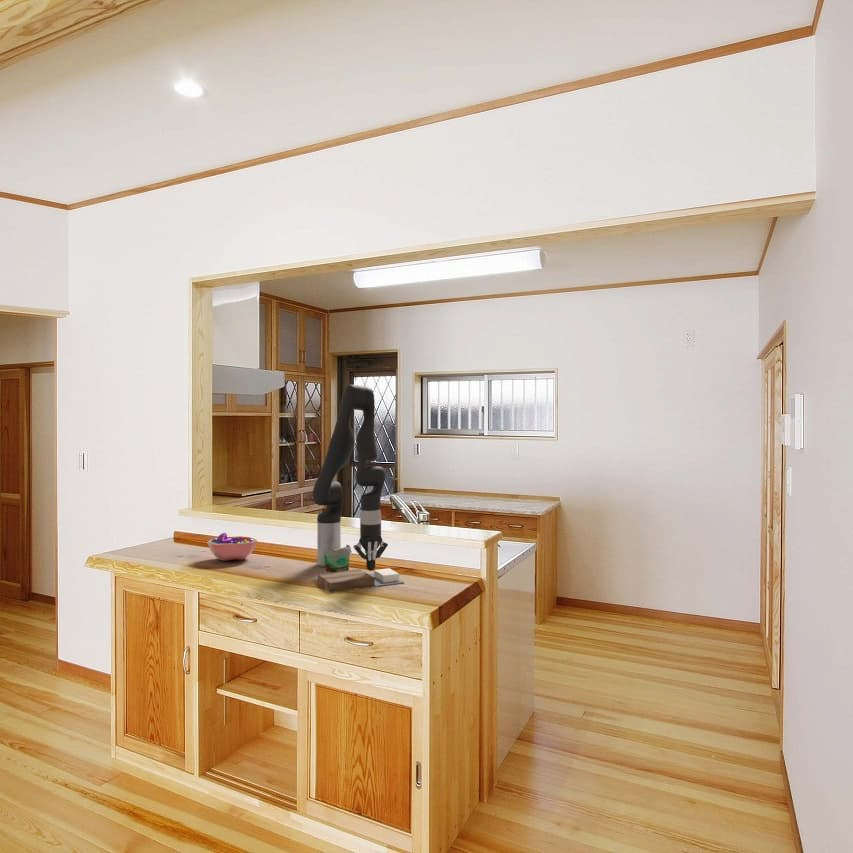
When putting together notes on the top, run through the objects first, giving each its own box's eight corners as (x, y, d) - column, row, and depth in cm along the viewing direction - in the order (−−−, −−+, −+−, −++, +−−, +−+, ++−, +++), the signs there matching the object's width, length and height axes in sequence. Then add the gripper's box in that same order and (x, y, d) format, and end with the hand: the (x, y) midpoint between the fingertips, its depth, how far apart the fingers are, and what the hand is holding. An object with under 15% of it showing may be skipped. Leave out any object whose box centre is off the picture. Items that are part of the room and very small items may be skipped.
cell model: (250, 565, 250) (250, 536, 250) (200, 564, 251) (200, 536, 250) (262, 555, 267) (262, 529, 267) (215, 555, 268) (215, 529, 267)
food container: (333, 579, 228) (333, 551, 228) (322, 576, 232) (322, 549, 232) (358, 572, 238) (358, 546, 238) (347, 570, 242) (347, 544, 242)
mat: (359, 576, 232) (359, 575, 232) (386, 573, 237) (386, 572, 237) (375, 587, 218) (375, 585, 218) (404, 583, 223) (404, 582, 223)
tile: (389, 568, 233) (389, 574, 233) (374, 569, 230) (374, 576, 230) (398, 573, 225) (398, 580, 225) (383, 575, 222) (383, 582, 222)
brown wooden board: (318, 582, 224) (317, 574, 224) (360, 577, 231) (360, 569, 231) (330, 592, 211) (330, 583, 211) (374, 586, 219) (374, 577, 219)
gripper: (383, 519, 232) (383, 565, 232) (349, 521, 226) (349, 569, 226) (391, 522, 225) (391, 570, 225) (357, 525, 219) (357, 574, 219)
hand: (370, 570), depth 225 cm, fingers closed
